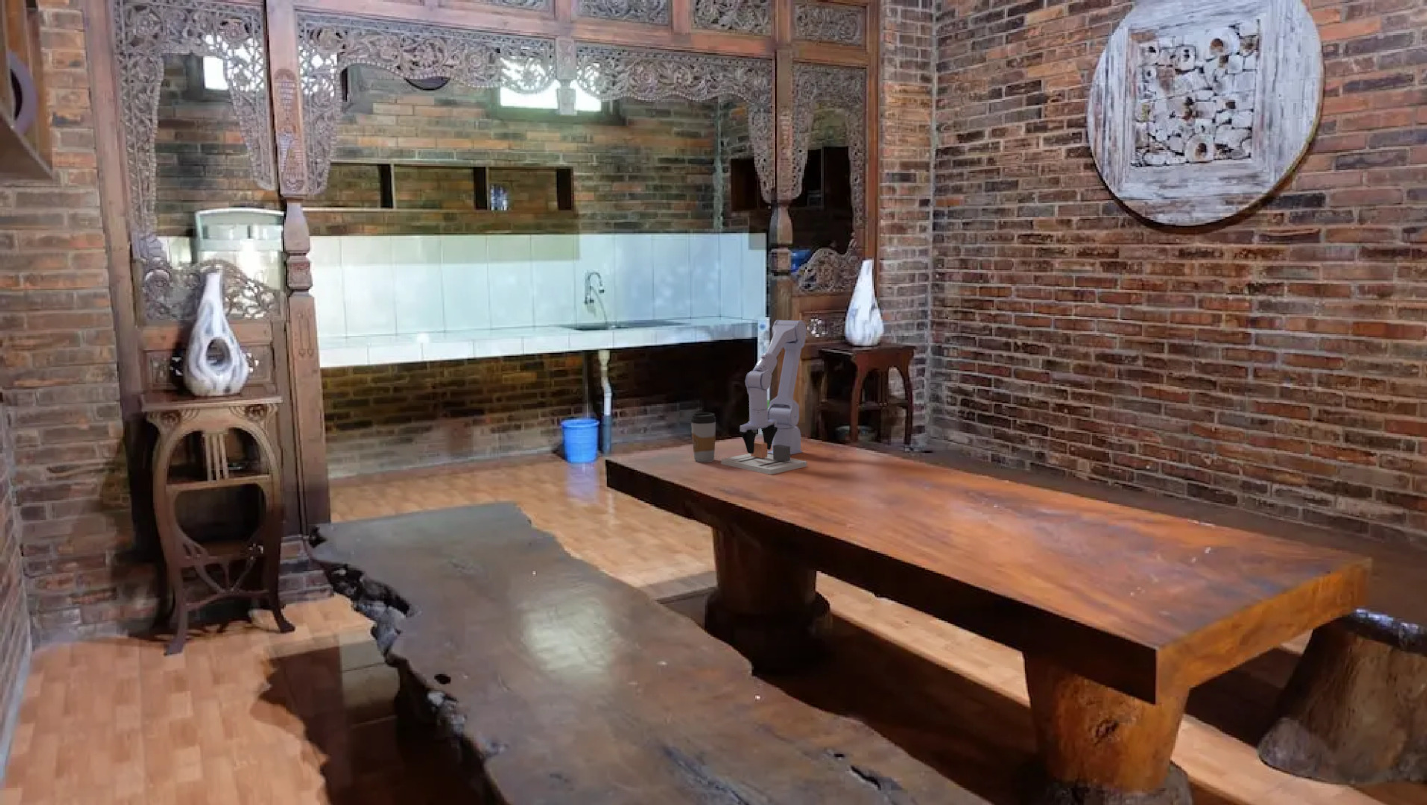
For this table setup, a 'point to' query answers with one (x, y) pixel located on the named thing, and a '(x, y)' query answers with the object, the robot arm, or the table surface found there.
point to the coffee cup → (703, 436)
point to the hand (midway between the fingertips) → (759, 451)
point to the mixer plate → (763, 463)
